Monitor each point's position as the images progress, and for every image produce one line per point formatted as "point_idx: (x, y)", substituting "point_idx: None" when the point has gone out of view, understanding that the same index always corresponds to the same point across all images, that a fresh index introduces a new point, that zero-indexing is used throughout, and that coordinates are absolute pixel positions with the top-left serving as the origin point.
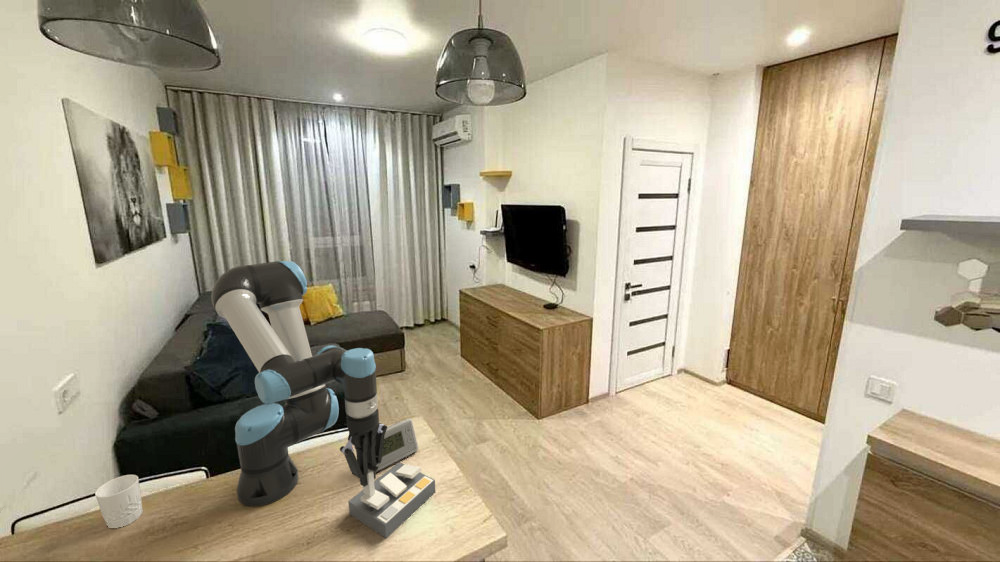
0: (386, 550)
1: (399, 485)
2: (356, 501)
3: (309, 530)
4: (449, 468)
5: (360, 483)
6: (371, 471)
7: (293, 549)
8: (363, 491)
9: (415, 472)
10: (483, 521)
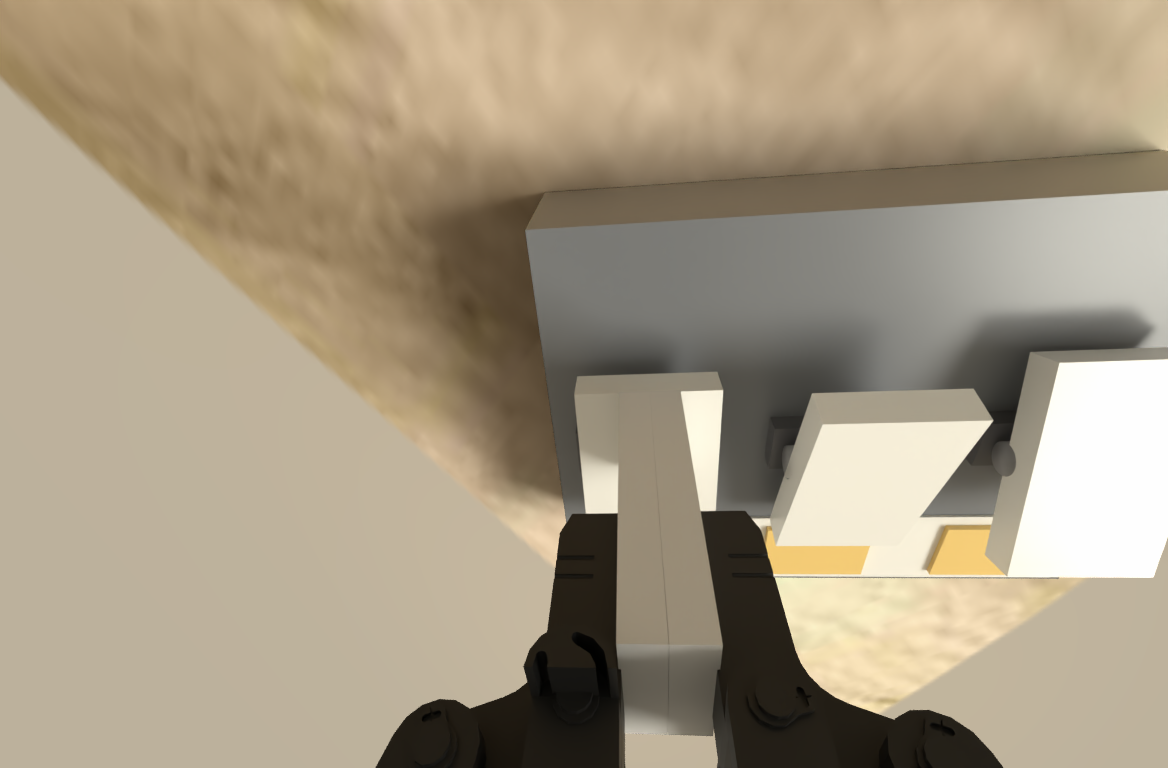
0: (541, 539)
1: (871, 523)
2: (572, 298)
3: (238, 65)
4: None
5: (559, 540)
6: (695, 727)
7: (113, 145)
8: (619, 403)
9: (1063, 572)
10: (878, 699)
